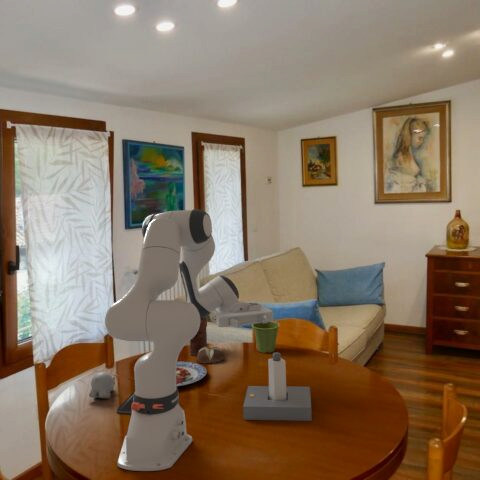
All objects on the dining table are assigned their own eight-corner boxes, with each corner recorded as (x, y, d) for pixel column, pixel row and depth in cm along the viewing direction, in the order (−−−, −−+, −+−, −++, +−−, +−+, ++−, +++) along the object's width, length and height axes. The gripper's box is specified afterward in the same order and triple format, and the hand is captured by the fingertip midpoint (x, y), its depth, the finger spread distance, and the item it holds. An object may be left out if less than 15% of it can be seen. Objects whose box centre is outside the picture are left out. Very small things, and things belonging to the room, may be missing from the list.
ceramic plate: (122, 380, 185) (121, 372, 185) (177, 362, 203) (177, 355, 203) (164, 398, 167) (164, 390, 167) (221, 377, 185) (220, 369, 185)
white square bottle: (286, 408, 155) (285, 354, 153) (274, 410, 153) (273, 356, 152) (281, 403, 158) (279, 350, 157) (269, 405, 157) (268, 352, 155)
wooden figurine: (194, 347, 222) (193, 307, 220) (209, 347, 221) (207, 307, 219) (187, 356, 210) (185, 313, 208) (202, 356, 209) (200, 314, 207)
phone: (115, 411, 156) (133, 392, 171) (115, 414, 156) (133, 395, 171) (139, 412, 155) (155, 393, 170) (139, 415, 155) (155, 396, 170)
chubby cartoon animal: (121, 399, 174) (124, 373, 176) (104, 399, 163) (108, 372, 165) (102, 397, 176) (106, 372, 178) (84, 397, 165) (88, 370, 167)
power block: (311, 420, 147) (311, 406, 146) (243, 419, 149) (243, 405, 149) (310, 398, 163) (309, 386, 162) (248, 397, 165) (248, 385, 165)
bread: (195, 364, 200) (195, 352, 199) (199, 355, 211) (198, 343, 211) (223, 364, 199) (223, 351, 199) (225, 355, 211) (225, 343, 210)
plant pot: (249, 354, 210) (248, 327, 209) (256, 345, 221) (255, 320, 220) (276, 355, 207) (276, 329, 206) (283, 347, 218) (282, 321, 217)
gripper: (210, 308, 176) (222, 316, 163) (263, 302, 183) (279, 310, 170) (210, 326, 176) (223, 335, 163) (264, 320, 183) (280, 328, 171)
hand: (252, 322), depth 167 cm, fingers open, 8 cm apart
